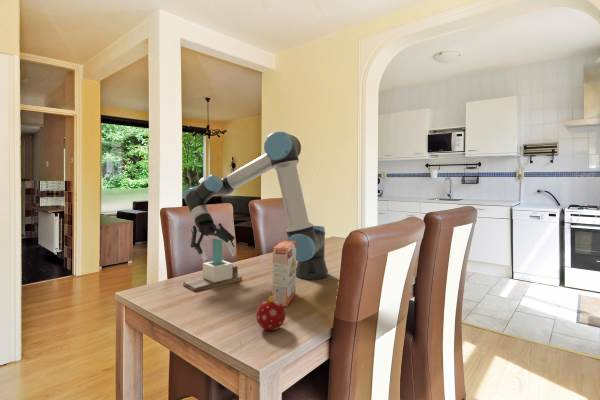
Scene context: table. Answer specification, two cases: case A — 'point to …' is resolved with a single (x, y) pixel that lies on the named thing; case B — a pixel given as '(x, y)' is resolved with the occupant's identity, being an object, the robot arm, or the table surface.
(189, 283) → the rail board
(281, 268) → the cracker box
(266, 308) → the christmas ornament
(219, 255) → the dowel
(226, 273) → the block
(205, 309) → the table surface
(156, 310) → the table surface
